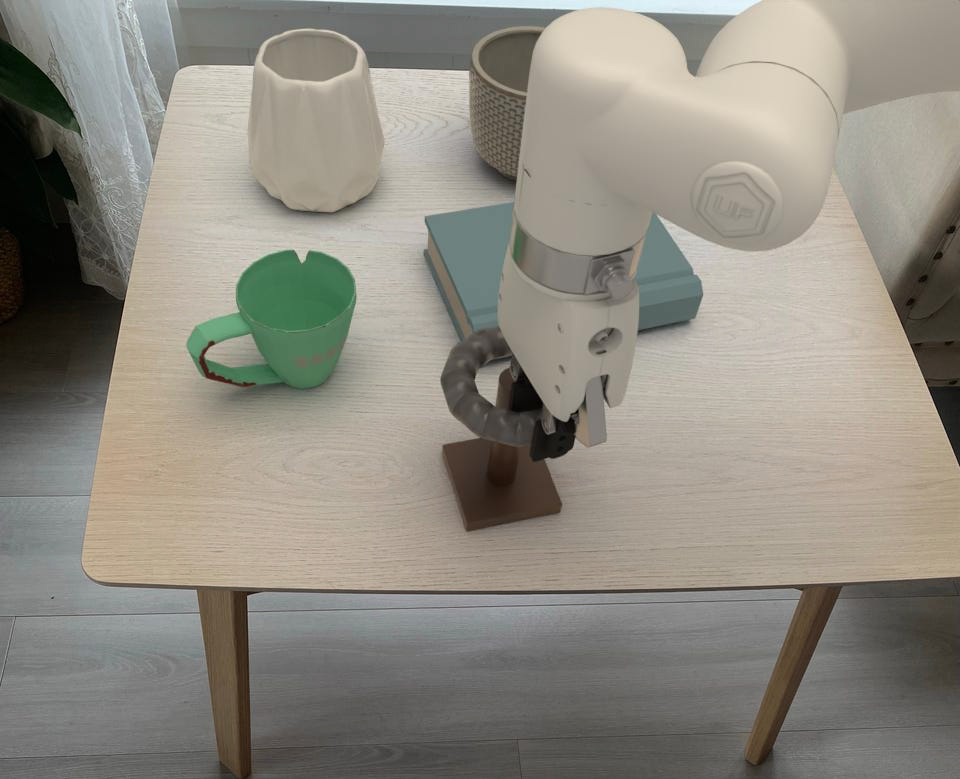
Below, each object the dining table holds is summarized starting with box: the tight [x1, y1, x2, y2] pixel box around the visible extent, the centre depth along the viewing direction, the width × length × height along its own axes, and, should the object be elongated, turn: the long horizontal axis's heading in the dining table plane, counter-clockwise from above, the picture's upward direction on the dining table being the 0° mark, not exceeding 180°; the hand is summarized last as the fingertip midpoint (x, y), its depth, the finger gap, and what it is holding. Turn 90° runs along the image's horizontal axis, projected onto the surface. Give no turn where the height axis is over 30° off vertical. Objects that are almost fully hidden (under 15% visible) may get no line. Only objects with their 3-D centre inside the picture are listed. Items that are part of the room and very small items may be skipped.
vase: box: [247, 28, 386, 213], centre depth 97 cm, size 14×14×15 cm
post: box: [441, 367, 563, 532], centre depth 74 cm, size 8×8×13 cm
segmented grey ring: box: [439, 326, 543, 447], centre depth 69 cm, size 11×11×2 cm
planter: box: [468, 25, 546, 182], centre depth 102 cm, size 14×14×13 cm
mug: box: [185, 249, 358, 390], centre depth 81 cm, size 15×10×10 cm
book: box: [423, 201, 704, 361], centre depth 93 cm, size 23×16×5 cm
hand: (539, 432), depth 68 cm, fingers closed on segmented grey ring, 3 cm apart
